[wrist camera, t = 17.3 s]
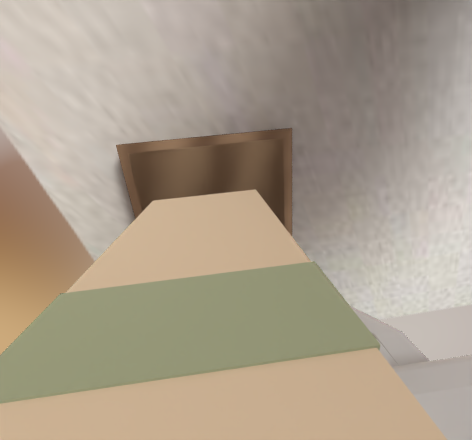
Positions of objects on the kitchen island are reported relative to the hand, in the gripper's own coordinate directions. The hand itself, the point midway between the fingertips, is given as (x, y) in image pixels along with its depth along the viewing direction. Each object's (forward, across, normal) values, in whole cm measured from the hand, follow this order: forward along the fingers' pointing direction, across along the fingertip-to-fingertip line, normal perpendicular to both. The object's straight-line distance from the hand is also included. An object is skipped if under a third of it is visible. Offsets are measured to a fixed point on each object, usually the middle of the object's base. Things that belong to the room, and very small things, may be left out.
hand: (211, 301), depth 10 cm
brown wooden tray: (+17, 0, 0) cm, 17 cm away
